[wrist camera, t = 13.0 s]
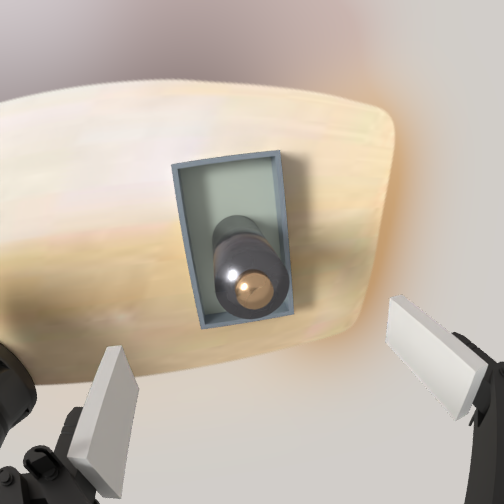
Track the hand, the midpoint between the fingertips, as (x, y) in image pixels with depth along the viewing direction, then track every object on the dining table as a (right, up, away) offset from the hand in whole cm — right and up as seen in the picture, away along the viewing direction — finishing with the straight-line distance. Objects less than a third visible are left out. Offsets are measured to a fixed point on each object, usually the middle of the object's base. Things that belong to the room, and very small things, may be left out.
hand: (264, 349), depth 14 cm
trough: (-2, +6, +19) cm, 20 cm away
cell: (-2, +6, +18) cm, 19 cm away
